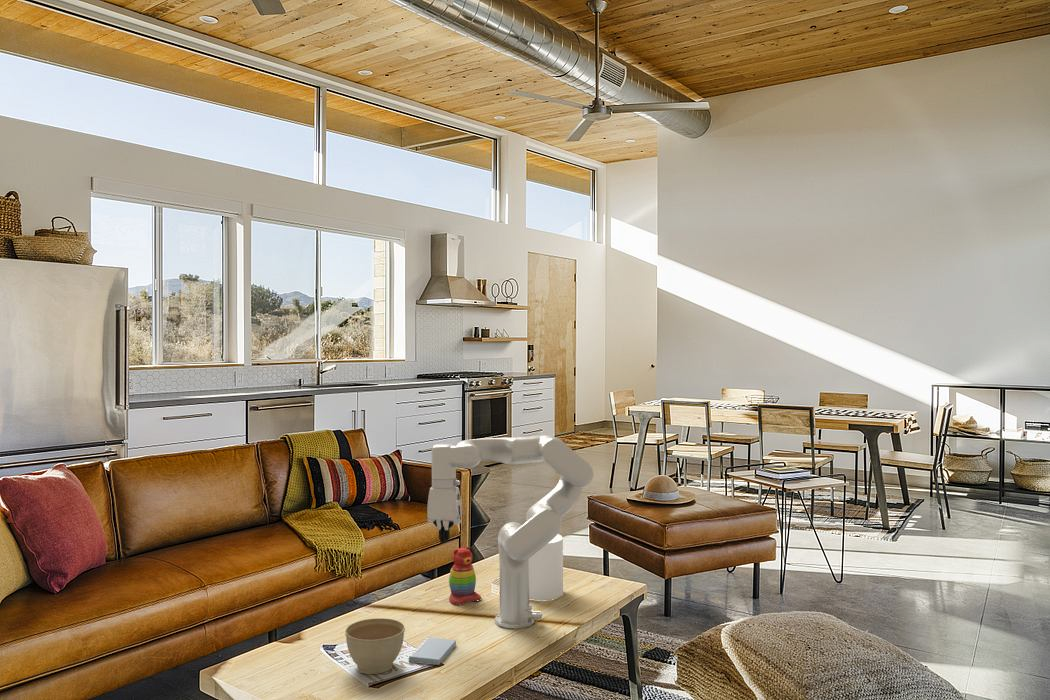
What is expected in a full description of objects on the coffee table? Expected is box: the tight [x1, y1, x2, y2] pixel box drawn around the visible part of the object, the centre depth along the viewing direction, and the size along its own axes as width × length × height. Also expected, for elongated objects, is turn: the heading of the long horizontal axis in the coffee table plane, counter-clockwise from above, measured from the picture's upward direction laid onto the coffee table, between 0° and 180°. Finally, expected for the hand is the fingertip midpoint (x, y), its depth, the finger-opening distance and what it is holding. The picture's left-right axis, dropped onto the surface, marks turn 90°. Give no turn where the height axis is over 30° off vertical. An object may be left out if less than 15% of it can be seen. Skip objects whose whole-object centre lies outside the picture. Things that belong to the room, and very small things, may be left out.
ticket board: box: [408, 636, 457, 666], centre depth 218 cm, size 9×14×2 cm, turn 166°
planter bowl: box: [344, 617, 406, 675], centre depth 209 cm, size 16×16×11 cm
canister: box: [529, 533, 564, 601], centre depth 268 cm, size 16×16×20 cm
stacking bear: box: [448, 546, 482, 606], centre depth 263 cm, size 11×10×18 cm
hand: (444, 541), depth 237 cm, fingers closed
